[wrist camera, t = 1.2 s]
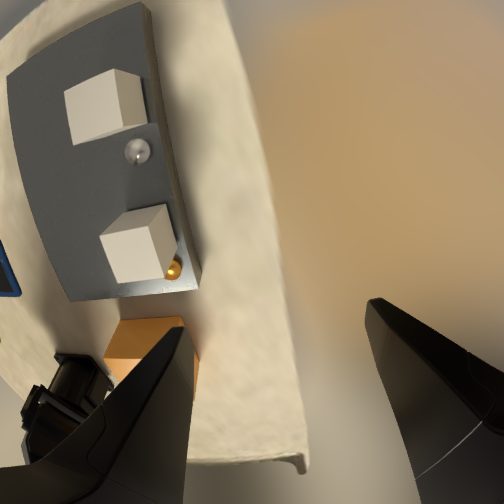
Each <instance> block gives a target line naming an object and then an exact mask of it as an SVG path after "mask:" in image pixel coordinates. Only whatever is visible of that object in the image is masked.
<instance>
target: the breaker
mask: <svg viewBox="0 0 504 504" xmlns="http://www.w3.org/2000/svg"><path fill="white" fill-rule="evenodd" d="M64 96H65V103H66V110H67V116H68V122H69V127H70V132H71V137H72V142H73V145H77V144H80V143H84V142H88V141H92V140H96V139H100V138H104V137H107V136H110V135H113V134H116V133H119V132H122V131H125V130H128V129H131V128H134V127H137V126H141V125H144V124H148V122H147V117H146V111H145V106H144V100H143V94H142V88H141V81H140V76H137V75H134V74H131V73H127V72H124V71H121V70H117V69H111V70H109V71H107V72H104V73H102V74H99V75H97V76H95V77H93V78H90V79H88V80H86V81H84V82H82V83H80V84H78V85H76V86H74V87H72V88H70V89H68V90H66V91H64Z"/></svg>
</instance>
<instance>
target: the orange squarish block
mask: <svg viewBox="0 0 504 504" xmlns="http://www.w3.org/2000/svg"><path fill="white" fill-rule="evenodd" d="M174 326H185V325H184V323H183V320H182V318H181V316H173V317H161V318H148V319H133V320H120V322H119V324H118V326H117V328H116V330H115V333H114V335H113V337H112V339H111V341H110V343H109V345H108V348H107V350H106V352H105V354H104V357H103V360H104V361H105V362H106V364H107V365H108V367H109V368H110V370H111V371H112V372H113V374H114V375H115V376H116V378H117V379H118V381H119V382H121V381H122V380H123V379H124V378H125V377H126V376H127V375H128V373H129V372H130V371H131V370H132V369H133V368H134V367H135V366H136V365H137V364H138V363H139V362H140V360H141V359H142V358H143V357H144V356H145V355H146V354H147V353H148V352H149V351H150V350H151V349H152V348H153V346H154V345H155V344H156V343H157V342H158V341H159V340H160V339H161V338H162V337H163V336H164V335H165V334H166V332H167V331H168V330H169V329H170V328H171V327H174ZM199 362H200V361H199V359H198V357H197V355H196V352H195V350H194V398H193V402H194V400H195V392H196V384H197V377H198V369H199Z"/></svg>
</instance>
